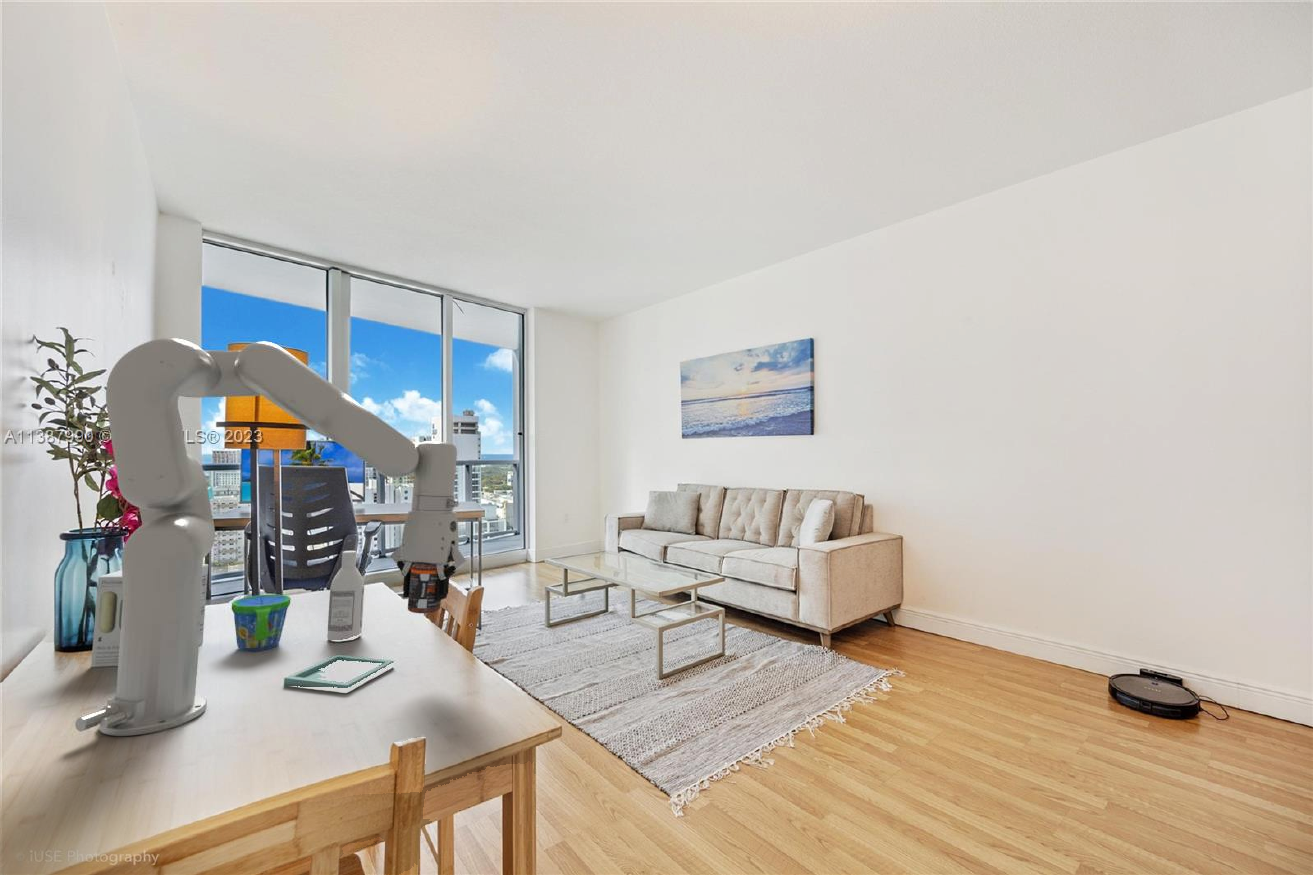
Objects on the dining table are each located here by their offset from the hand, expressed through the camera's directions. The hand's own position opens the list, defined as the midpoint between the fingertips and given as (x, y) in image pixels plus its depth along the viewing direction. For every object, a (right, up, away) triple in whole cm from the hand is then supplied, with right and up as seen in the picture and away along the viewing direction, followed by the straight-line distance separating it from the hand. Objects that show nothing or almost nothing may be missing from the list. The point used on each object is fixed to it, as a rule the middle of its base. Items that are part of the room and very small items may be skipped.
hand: (425, 596), depth 109 cm
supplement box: (-60, -14, +7) cm, 62 cm away
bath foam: (-27, -16, +21) cm, 38 cm away
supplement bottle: (0, -3, 0) cm, 3 cm away
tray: (-15, -15, -2) cm, 22 cm away
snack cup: (-42, -15, +14) cm, 47 cm away
